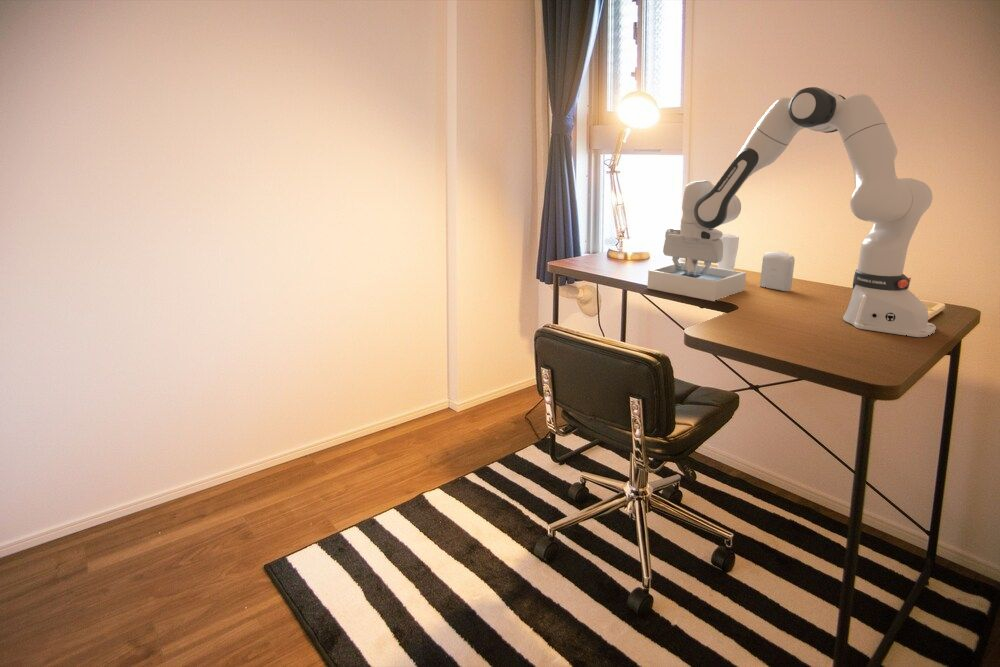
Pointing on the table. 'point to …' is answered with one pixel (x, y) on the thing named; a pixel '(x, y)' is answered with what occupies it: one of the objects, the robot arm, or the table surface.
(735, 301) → the table surface
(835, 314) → the table surface
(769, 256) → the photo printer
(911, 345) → the table surface
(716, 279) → the box
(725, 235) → the drinking glass
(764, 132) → the robot arm
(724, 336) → the table surface
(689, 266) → the peg
